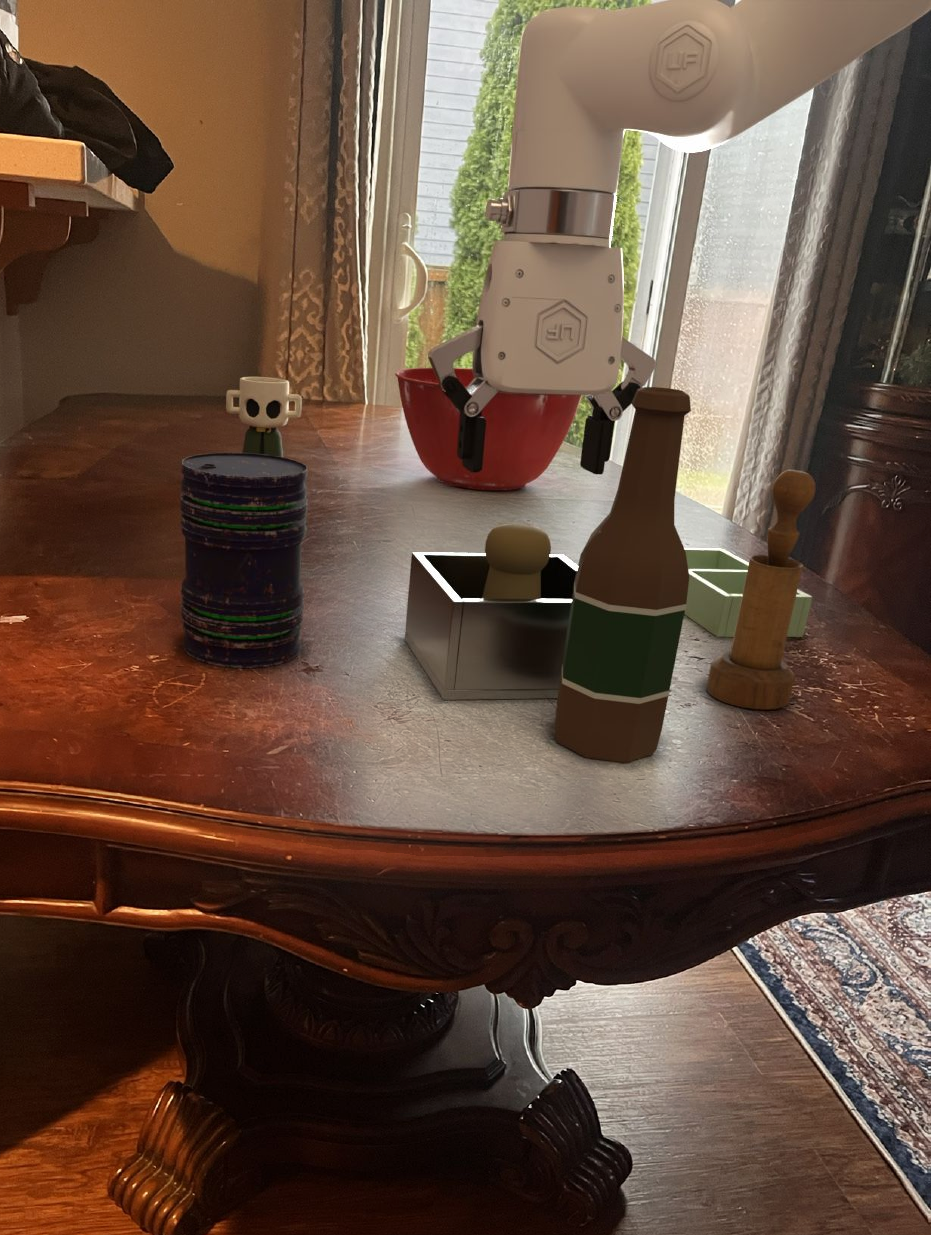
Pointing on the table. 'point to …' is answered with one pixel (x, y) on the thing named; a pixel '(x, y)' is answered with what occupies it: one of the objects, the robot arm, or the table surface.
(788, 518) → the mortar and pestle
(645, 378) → the robot arm
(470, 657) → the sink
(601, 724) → the beer bottle
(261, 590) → the oil drum
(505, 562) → the cork
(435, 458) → the mixing bowl
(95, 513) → the table surface
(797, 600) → the divided storage box
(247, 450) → the character mug
